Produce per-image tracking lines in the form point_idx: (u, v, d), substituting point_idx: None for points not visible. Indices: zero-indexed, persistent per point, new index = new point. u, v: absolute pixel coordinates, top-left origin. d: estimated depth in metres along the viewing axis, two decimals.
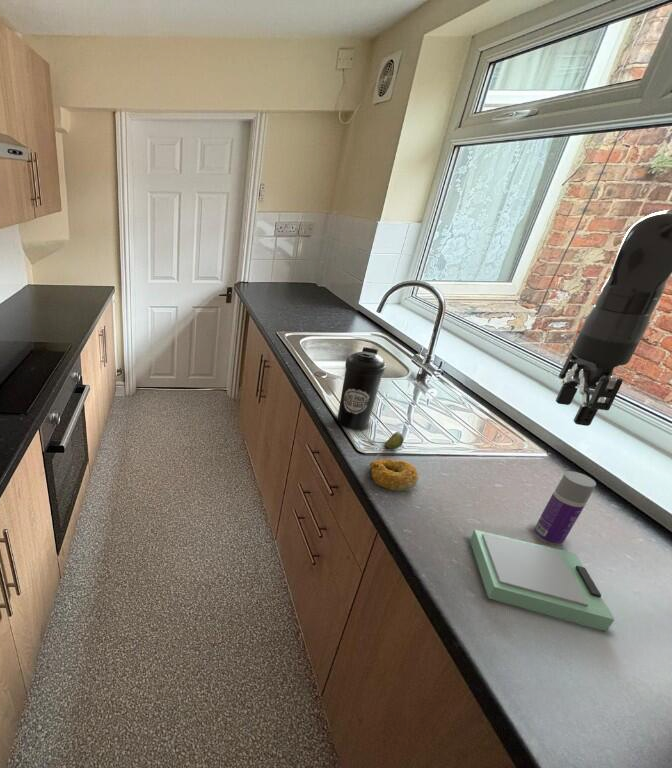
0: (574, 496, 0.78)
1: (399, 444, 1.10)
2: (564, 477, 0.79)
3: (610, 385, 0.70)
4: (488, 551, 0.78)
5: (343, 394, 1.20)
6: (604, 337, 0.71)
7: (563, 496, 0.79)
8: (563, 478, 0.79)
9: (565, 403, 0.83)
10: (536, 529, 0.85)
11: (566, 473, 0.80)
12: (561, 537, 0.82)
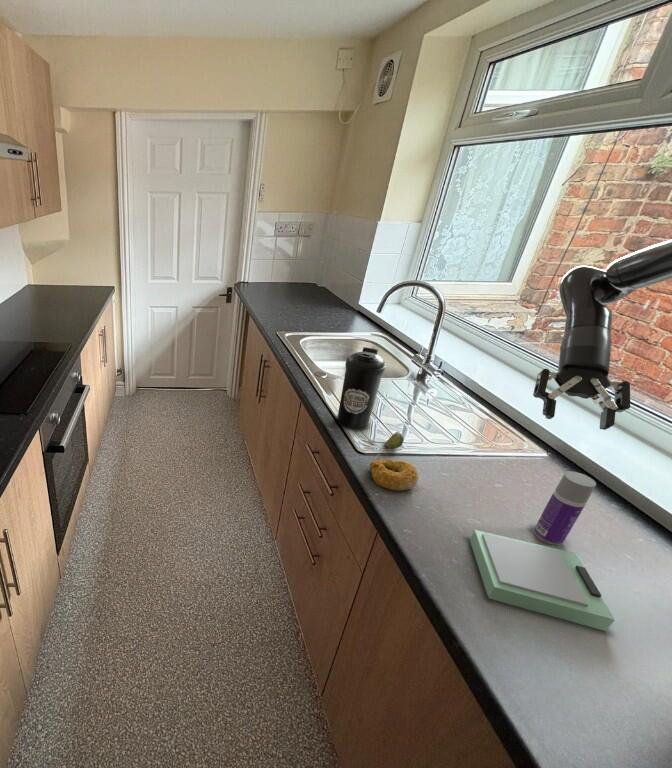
0: (574, 496, 0.78)
1: (399, 444, 1.10)
2: (564, 477, 0.79)
3: (539, 375, 0.89)
4: (488, 551, 0.78)
5: (343, 394, 1.20)
6: None
7: (563, 496, 0.79)
8: (563, 478, 0.79)
9: (603, 426, 0.82)
10: (536, 529, 0.85)
11: (566, 473, 0.80)
12: (561, 537, 0.82)
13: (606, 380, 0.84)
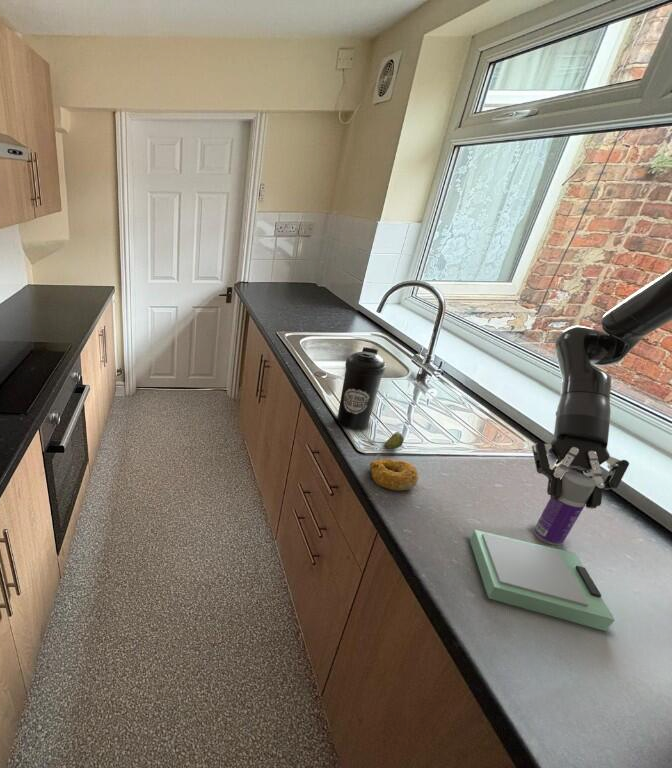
0: (574, 496, 0.78)
1: (399, 444, 1.10)
2: (564, 477, 0.79)
3: (535, 449, 0.84)
4: (488, 551, 0.78)
5: (343, 394, 1.20)
6: None
7: (563, 496, 0.79)
8: (563, 478, 0.79)
9: (589, 505, 0.78)
10: (536, 529, 0.85)
11: (566, 473, 0.80)
12: (561, 537, 0.82)
13: (605, 453, 0.79)
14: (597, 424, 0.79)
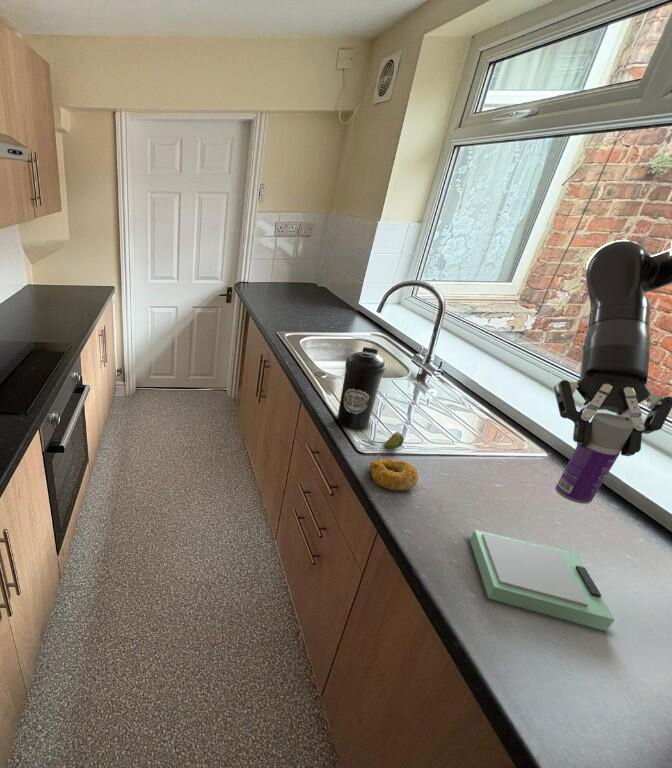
0: (606, 441, 0.64)
1: (399, 444, 1.10)
2: (594, 419, 0.66)
3: (557, 389, 0.70)
4: (488, 551, 0.78)
5: (343, 394, 1.20)
6: None
7: (593, 442, 0.66)
8: (593, 421, 0.66)
9: (626, 452, 0.64)
10: (559, 486, 0.72)
11: (596, 415, 0.66)
12: (590, 494, 0.68)
13: (645, 390, 0.65)
14: (635, 354, 0.65)
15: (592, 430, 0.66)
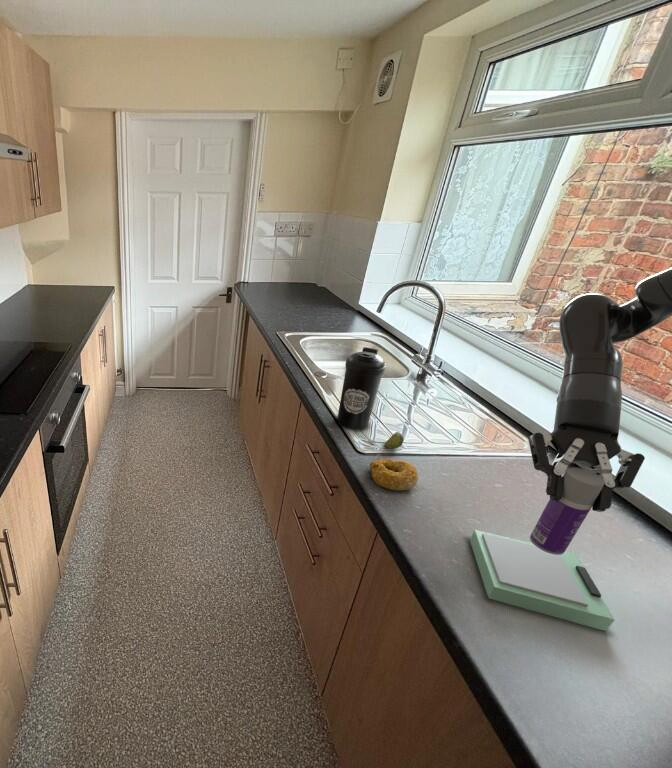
0: (578, 497, 0.65)
1: (399, 444, 1.10)
2: (566, 474, 0.66)
3: (532, 441, 0.71)
4: (488, 551, 0.78)
5: (343, 394, 1.20)
6: None
7: (565, 497, 0.66)
8: (565, 475, 0.66)
9: (597, 508, 0.65)
10: (533, 535, 0.72)
11: (569, 469, 0.67)
12: (562, 546, 0.69)
13: (616, 446, 0.66)
14: (606, 411, 0.66)
15: (564, 485, 0.66)
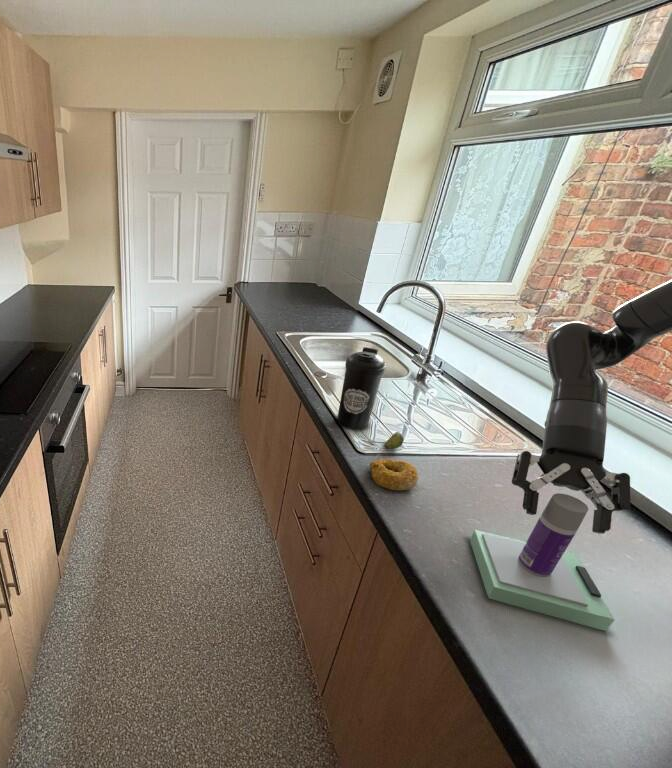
0: (563, 522, 0.68)
1: (399, 444, 1.10)
2: (552, 500, 0.69)
3: (519, 458, 0.73)
4: (488, 551, 0.78)
5: (343, 394, 1.20)
6: None
7: (551, 522, 0.69)
8: (551, 501, 0.69)
9: (597, 530, 0.66)
10: (521, 558, 0.75)
11: (554, 496, 0.69)
12: (549, 568, 0.72)
13: (600, 470, 0.68)
14: (591, 437, 0.68)
15: (550, 510, 0.69)
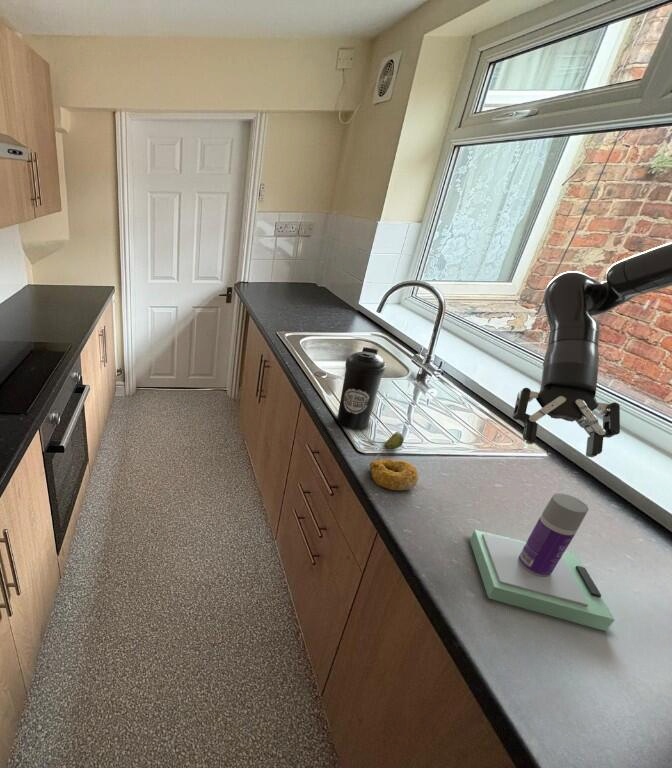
0: (563, 522, 0.68)
1: (399, 444, 1.10)
2: (552, 500, 0.69)
3: (519, 394, 0.81)
4: (488, 551, 0.78)
5: (343, 394, 1.20)
6: None
7: (551, 522, 0.69)
8: (551, 501, 0.69)
9: (589, 453, 0.73)
10: (521, 558, 0.75)
11: (554, 496, 0.69)
12: (549, 568, 0.72)
13: (593, 401, 0.75)
14: (585, 371, 0.75)
15: (550, 510, 0.69)
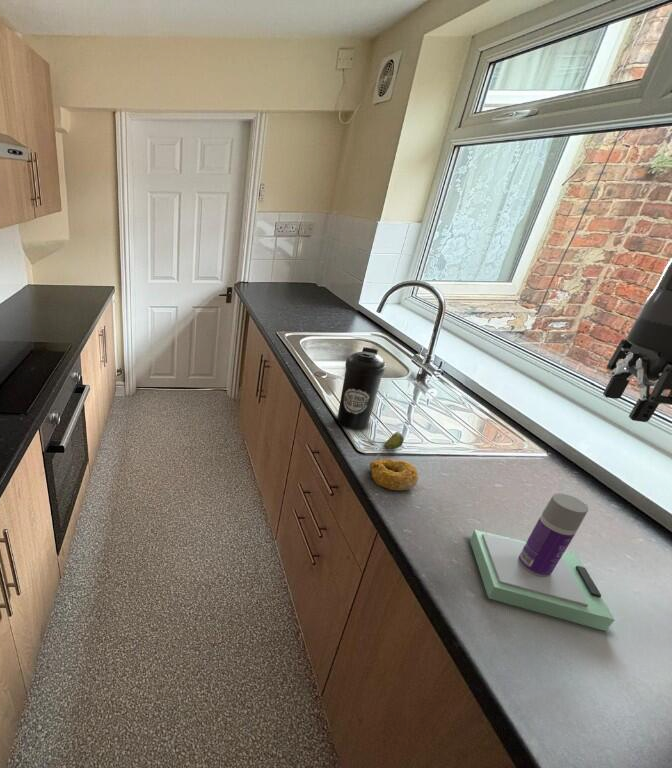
0: (563, 522, 0.68)
1: (399, 444, 1.10)
2: (552, 500, 0.69)
3: None
4: (488, 551, 0.78)
5: (343, 394, 1.20)
6: (670, 322, 0.63)
7: (551, 522, 0.69)
8: (551, 501, 0.69)
9: (614, 397, 0.75)
10: (521, 558, 0.75)
11: (554, 495, 0.69)
12: (549, 568, 0.72)
13: None
14: None
15: (550, 510, 0.69)
